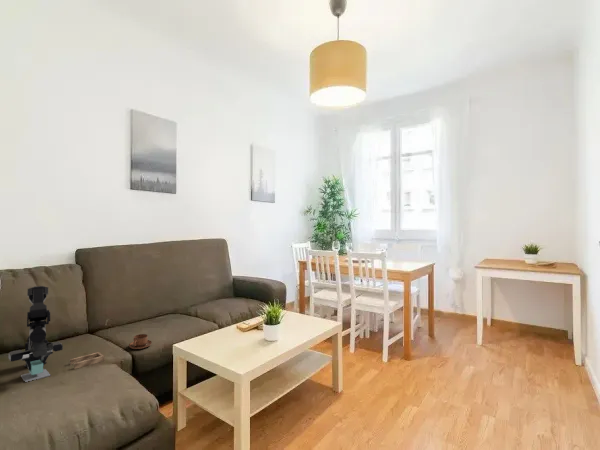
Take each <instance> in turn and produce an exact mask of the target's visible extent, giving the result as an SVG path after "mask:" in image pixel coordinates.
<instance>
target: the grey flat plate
mask: <svg viewBox="0 0 600 450" xmlns="http://www.w3.org/2000/svg"><path fill="white" fill-rule="evenodd" d="M51 376H52V375H51V374H50V372H49V371H48V370H47V369H46V368H43V372H42V373H38V374H34V375H31V373H30V372H27V373H24V374H21V375H20V377H21V378H22V380H23V382H24V381H25V382H27V383H29V382H28V381H30V382H33V381H32V380H34V381H37V380H41V379H44V378H47V377H51ZM36 379H37V380H36ZM25 382H24V383H25Z"/></svg>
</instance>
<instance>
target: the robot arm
mask: <svg viewBox="0 0 600 450" xmlns="http://www.w3.org/2000/svg"><path fill="white" fill-rule="evenodd" d="M48 295H49V287H48V286H44V285H39V286H33V287H29V288H27V295H26V297H27V298H28V302H29V303H30V306H29V311H27V317H26V328H28V327H29V334H28V335H29V336H27V338H26V340H27V342H25V346H24V351H22V349H17V350H12V351H9V353H8V360H9V361H10V362H15V361H22V362H23V361H24V362H25V364H24V365H23V367H25V368H27V369H28V372H29V371H31V362H32V361H36V360H41V361H42V363H43V367H44V366H45V364H47V363H48V362H47V360H48V358H49V356H50V355H53V353H54V352H60V351H63V349H64V345H63V344H62V342H60V341H53V342H52V341H51V342H49V340H48V339H46V337H47V331H46V327H47V326H46V325H49V322H51V311H50V309H48V306H47V305H46V304H45V302H46V300H47V296H48Z"/></svg>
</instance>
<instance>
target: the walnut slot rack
mask: <svg viewBox="0 0 600 450" xmlns="http://www.w3.org/2000/svg"><path fill="white" fill-rule="evenodd" d="M101 362H105V355H104V354H102V353H101V352H100V351H98V352H95V353H90V354H87V355H82V356H78V357H75V358H70V359H69V365H70V366H72V365H73V369H74V370H76V369H80V368H83V367H87V366H91V365H94V364H98V363H101Z"/></svg>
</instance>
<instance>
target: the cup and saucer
mask: <svg viewBox="0 0 600 450" xmlns="http://www.w3.org/2000/svg"><path fill="white" fill-rule="evenodd" d="M148 336H149V335H148V334H145V333H140V334H136V335H134V336H133V341H132V342H131V341H130V343H129V344H128V347H129V348H130V349H133V350H142V349H146V348H148V347H150V346H152V342H153V341H152V340H148ZM146 344H147V345H146Z"/></svg>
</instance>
